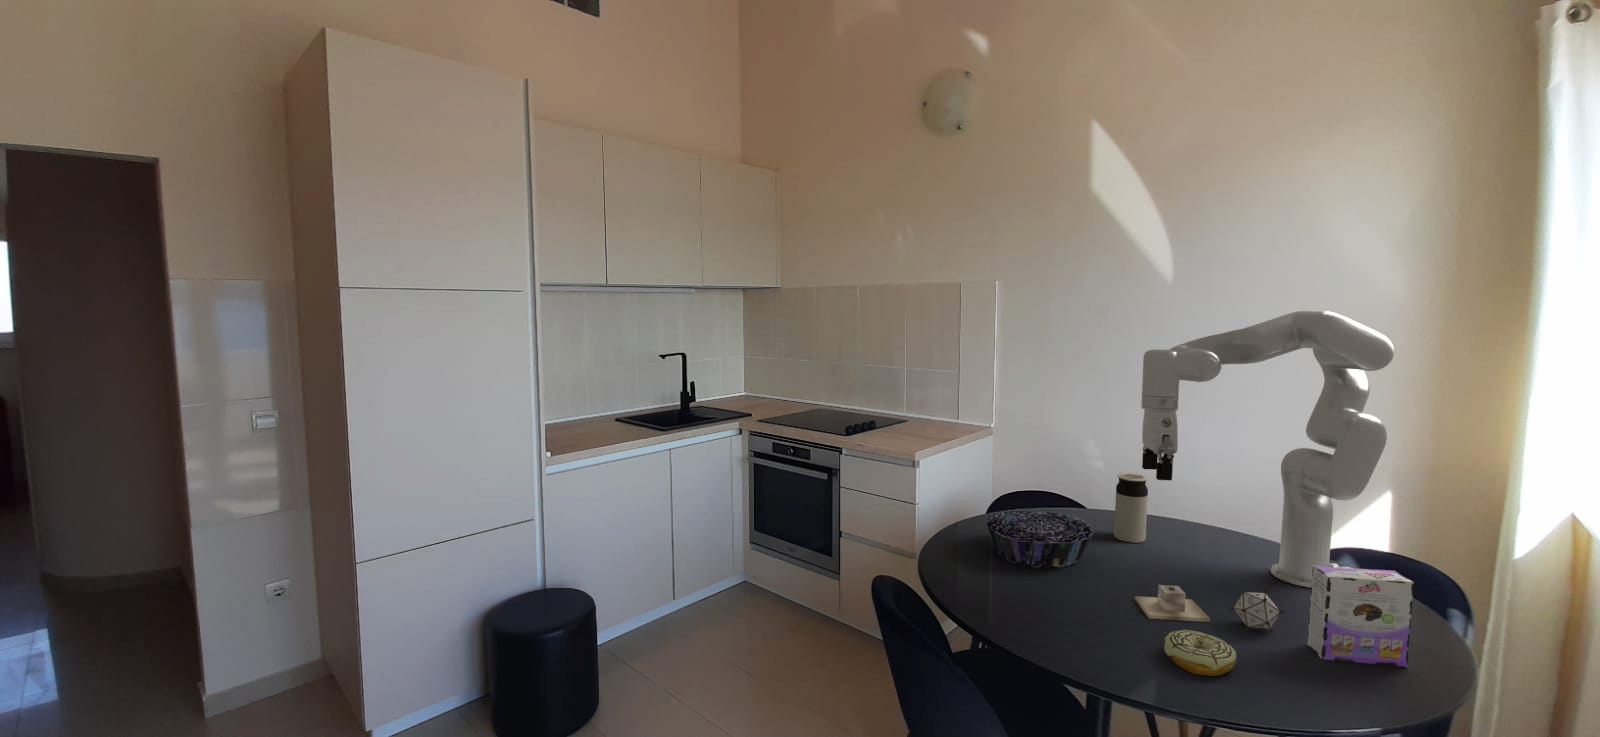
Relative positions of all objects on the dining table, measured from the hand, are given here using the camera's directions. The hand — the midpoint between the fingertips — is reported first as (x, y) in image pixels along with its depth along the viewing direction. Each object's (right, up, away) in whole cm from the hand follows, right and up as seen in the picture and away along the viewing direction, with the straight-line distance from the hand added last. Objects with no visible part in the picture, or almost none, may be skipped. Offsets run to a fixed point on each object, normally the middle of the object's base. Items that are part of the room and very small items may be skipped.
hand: (1156, 474), depth 157 cm
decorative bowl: (-21, -25, +21) cm, 38 cm away
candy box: (+21, -30, -31) cm, 48 cm away
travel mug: (+9, -23, +31) cm, 40 cm away
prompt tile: (-4, -28, -12) cm, 31 cm away
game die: (+9, -29, -20) cm, 36 cm away
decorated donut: (-10, -30, -32) cm, 45 cm away
